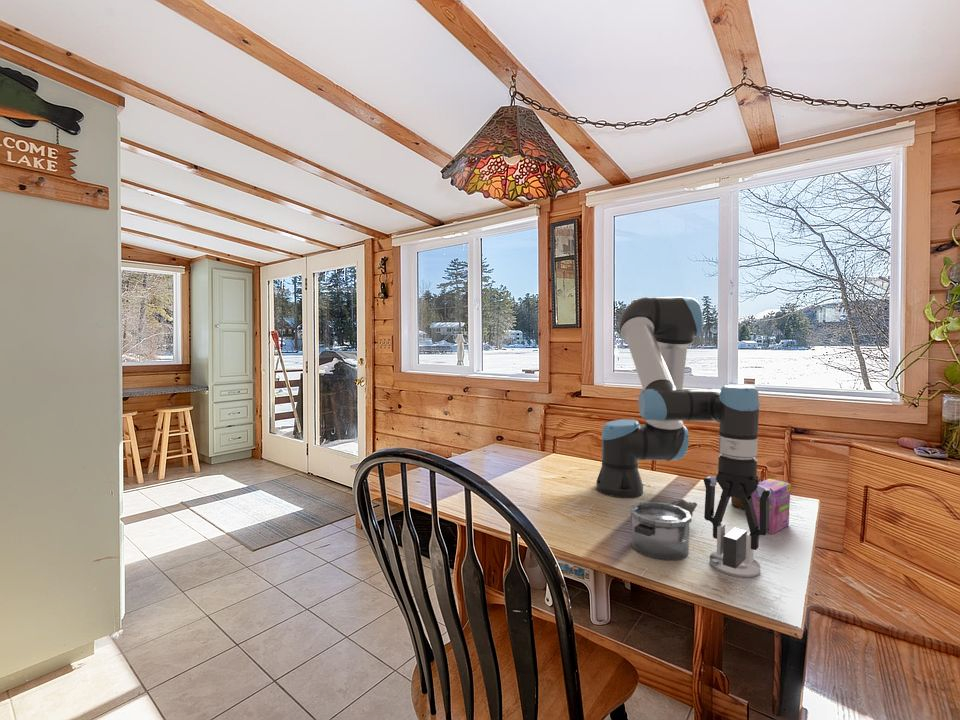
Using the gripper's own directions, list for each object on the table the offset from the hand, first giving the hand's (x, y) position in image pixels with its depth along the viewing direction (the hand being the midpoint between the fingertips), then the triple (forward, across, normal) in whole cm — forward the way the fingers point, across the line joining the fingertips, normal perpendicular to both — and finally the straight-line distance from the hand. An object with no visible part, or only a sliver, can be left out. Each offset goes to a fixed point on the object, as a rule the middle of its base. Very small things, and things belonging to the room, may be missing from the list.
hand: (734, 557), depth 106 cm
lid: (+2, 0, 0) cm, 2 cm away
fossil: (+2, -19, +14) cm, 24 cm away
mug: (+2, -9, +42) cm, 43 cm away
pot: (+2, -16, -3) cm, 16 cm away
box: (+2, -1, +31) cm, 31 cm away
